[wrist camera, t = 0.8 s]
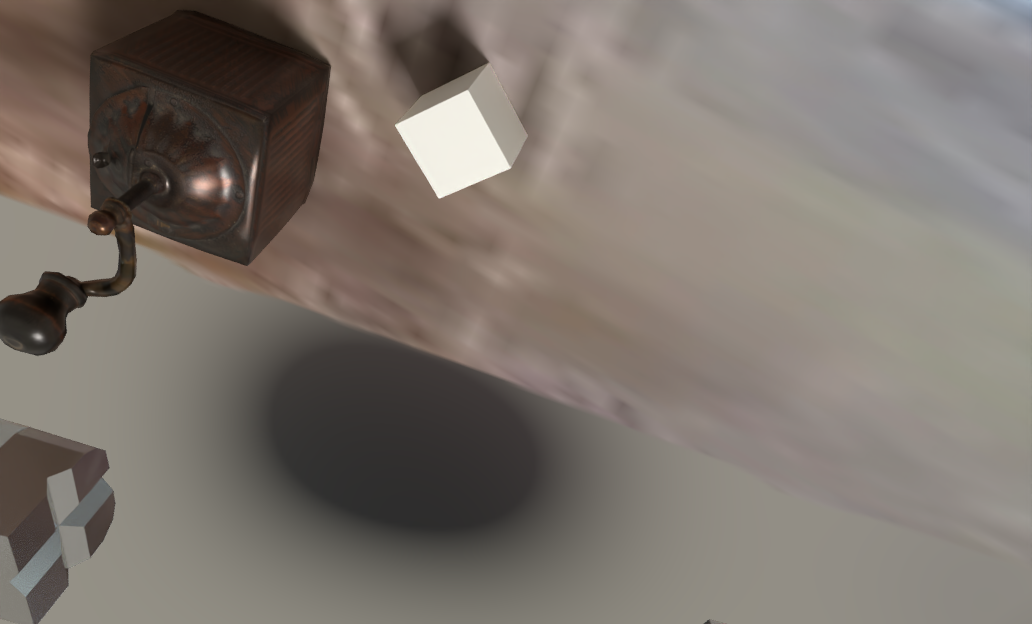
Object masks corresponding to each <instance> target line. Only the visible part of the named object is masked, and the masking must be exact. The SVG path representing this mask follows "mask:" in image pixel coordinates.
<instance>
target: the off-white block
mask: <svg viewBox="0 0 1032 624" xmlns="http://www.w3.org/2000/svg"><path fill="white" fill-rule="evenodd" d="M395 126H396V128H397V130H398V131H399V133H400V135H401V136H402V138H403V140H404V141H405V143H406V145H407V146H408V148H409V150H410V151H411V153H412V155H413V156H414V158H415V160H416V161H417V163H418V165H419V166H420V168H421V170H422V171H423V173H424V175H425V176H426V178H427V180H428V181H429V183H430V185H431V186H432V188H433V190H434V191H435V193H436V195H437V196H438V198H442V197H444V196H446V195H449V194H451V193H454V192H456V191H458V190H461V189H463V188H465V187H468V186H470V185H472V184H475V183H477V182H479V181H482V180H484V179H487V178H489V177H491V176H494V175H496V174H498V173H501V172H503V171H505V170H508V169H510V168H511V167H512V165H513V163H514V161H515V159H516V158H517V156H518V154H519V152H520V150H521V148H522V146H523V144H524V142H525V140H526V139H527V137H528V135H527V133H526V131H525V129H524V127H523V125H522V124H521V122H520V120H519V118H518V116H517V114H516V112H515V110H514V108H513V106H512V105H511V103H510V101H509V99H508V97H507V95H506V93H505V91H504V89H503V87H502V86H501V84H500V82H499V80H498V78H497V76H496V74H495V72H494V70H493V68H492V67H491V65H490V63H487V64H485V65H483V66H481V67H479V68H477V69H475V70H473V71H471V72H469V73H467V74H465V75H463V76H461V77H459V78H457V79H455V80H452V81H450V82H448V83H446V84H444V85H442V86H440V87H438V88H436V89H434V90H432V91H430V92H428V93H426V94H424V95H422V96H421V97H420V98H419V99H418V100H417V101H416V102H415V103H414V104H413V105H412V107H411V108H410V109H409V110H408V111H407V112H406V113H405V114H404V115H403V117H402V118H401V119H400V120H399V121H398V122H397V123H396V124H395Z"/></svg>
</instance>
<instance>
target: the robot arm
mask: <svg viewBox="0 0 1032 624" xmlns="http://www.w3.org/2000/svg"><path fill="white" fill-rule="evenodd" d="M108 469H109V463H108V459H107V454H106V451H105V450H102V449H99V448H96V447H92V446H89V445H86V444H83V443H80V442H76V441H72V440H70V439H66V438H63V437H60V436H57V435H53V434H50V433H47V432H44V431H40V430H37V429H34V428H31V427H28V426H24V425H21V424H17V423H14V422H10V421H7V420H4V419H0V619H2V620H7V621H10V622H14V623H18V624H38V623H39V622H40V621H41V619H42V618H43V617H44V616H45V615H46V613H47V612H48V611H49V610H50V608H51V607H52V606H53V604H54V603H55V602H56V601H57V599H58V598H59V597H60V596H61V594H62V593H63V592H64V590H65V589H66V588H67V587H68V585H69V583H68V582H69V580H68V579H69V574H68V569H69V568H71V567H73V566H75V565H77V564H79V563H81V562H83V561H85V560H87V559H89V558H91V556H92V555H93V554H94V552H95V551H96V550H97V548H98V547H99V546H100V544H101V543H102V542H103V540H104V538H105V536H106V534H107V532H108V529H109V527H110V525H111V523H112V521H113V516H114V510H115V497H114V491H113V490H112V489H111V487H110V486H109V485H108V484H107V483H106V482H105V480H104V479H103V478H102V476H103V475H104V474H105V473H106V471H107V470H108ZM704 624H725V623H722V622H718V621H714V620H710V619H709V620H707V621H706V622H705V623H704Z"/></svg>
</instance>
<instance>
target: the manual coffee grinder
mask: <svg viewBox="0 0 1032 624" xmlns="http://www.w3.org/2000/svg"><path fill="white" fill-rule="evenodd" d="M330 70H331V66H329V65H327V64H325V63H323V62H321V61H319V60H317V59H315V58H313V57H311V56H309V55H307V54H305V53H303V52H300V51H298V50H295V49H293V48H290V47H288V46H285V45H282V44H280V43H277V42H275V41H272V40H270V39H267V38H264V37H262V36H259V35H257V34H254V33H252V32H249V31H246V30H244V29H241V28H239V27H236V26H234V25H231V24H228V23H226V22H223V21H221V20H218V19H215V18H212V17H210V16H207V15H204V14H202V13H199V12H196V11H181V10H177V11H176V12H175V13H174V14H173V15H171V16H169V17H167V18H165V19H163V20H160V21H158V22H156V23H154V24H152V25H149V26H147V27H145V28H143V29H141V30H138V31H136V32H134V33H132V34H130V35H128V36H125V37H123V38H121V39H119V40H117V41H115V42H113V43H111V44H108V45H106V46H104V47H102V48H100V49H98V50H95V51H94V52H93V53H92V54H91V62H90V129H89V132H88V148H89V154H90V189H91V207H92V208H94V209H97V210H99V211H95V212H93V213H92V214H90V215H89V219H88V228H89V229H90V231H91V232H92V233H94V234H96V235H109V234H110V233H111V232H112V230H113V229H114V230H115V236H116V238H117V244H118V249H119V263H118V270H117V273H116V275H115V277H112V278H109V279H99V280H92V281H84V282H81V281H79V280H77V279H76V278H73V277H70V276H64V275H63V274H61V273H59V272H44V273H43V274H42V276H41V278H40V280H39V285H38V286H37V288H36V289H35V290H32V291H29V292H26V293H23V294H15V295H9V296H8V297H6V298H4V299H3V300H1V301H0V339H1V340H2V341H3V343H4V344H6V345H7V346H9V347H11V348H13V349H14V350H18V351H21V352H25V353H29V354H33V355H36V356H39V355H45V354H47V353H50V352H53V351H55V350H56V349H57V348H58V346H59V345H60V344H61V343H62V342H63V340H64V338H65V336H66V333H67V329H66V317H67V315H68V313H70V312H71V311H73V310H74V309H76V308H81V307H83V306H84V304H85V303H86V300H87V298H88V296H96V297H108V296H114V295H117V294H119V293H121V292H123V291H124V290H126V289H127V288H128V287H129V286H130V285H131V284H132V282H133V280H134V278H135V277H136V262H137V259H136V248H135V233H134V226H133V224H134V225H136V226H139V227H141V228H144V229H146V230H149V231H151V232H154V233H156V234H159V235H161V236H164V237H166V238H169V239H172V240H174V241H177V242H180V243H182V244H185V245H188V246H190V247H193V248H196V249H198V250H201V251H204V252H207V253H210V254H213V255H216V256H219V257H222V258H225V259H228V260H231V261H234V262H237V263H240V264H243V265H246V266H248V265H249V264H250V263H251V262H252V261H253V260H254V259H255V258H256V257H257V256H258V255H259V254H260V252H261V251H262V250H263V249H264V248H265V247H266V246H267V245H268V244H269V243H270V241H271V240H272V239H273V238H274V237H275V236H276V235H277V234H278V233H279V231H280V230H281V229H282V228H283V227H284V226H285V225H286V223H287V222H288V221H289V220H290V219H291V218H292V216H293V215H294V214H295V213H296V211H297V210H298V209H299V208H300V206H301V205H302V204H304V203H305V202H306V199H307V197H308V194H309V192H310V189H311V186H312V184H313V181H314V177H315V171H316V166H317V161H318V156H319V150H320V144H321V138H322V132H323V126H324V118H325V110H326V102H327V94H328V86H329V78H330Z"/></svg>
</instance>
